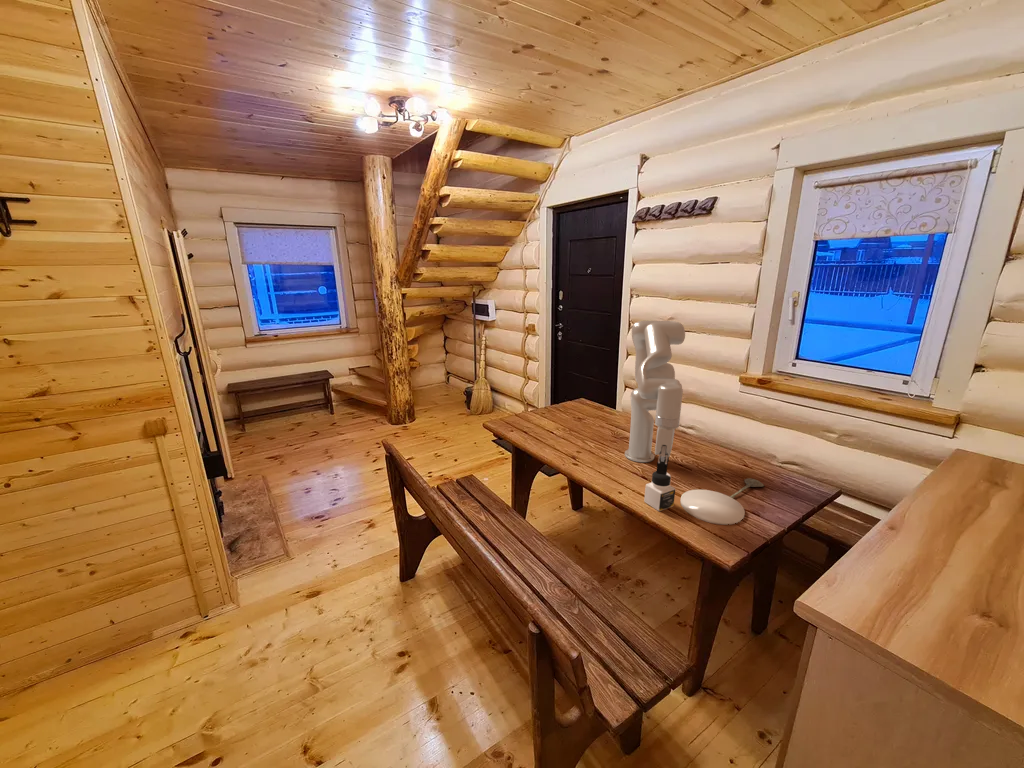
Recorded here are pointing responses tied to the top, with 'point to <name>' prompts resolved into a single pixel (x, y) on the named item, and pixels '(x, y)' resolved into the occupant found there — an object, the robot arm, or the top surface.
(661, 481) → the medicine bottle
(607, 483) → the top surface
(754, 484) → the grey spatula
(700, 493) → the dish
